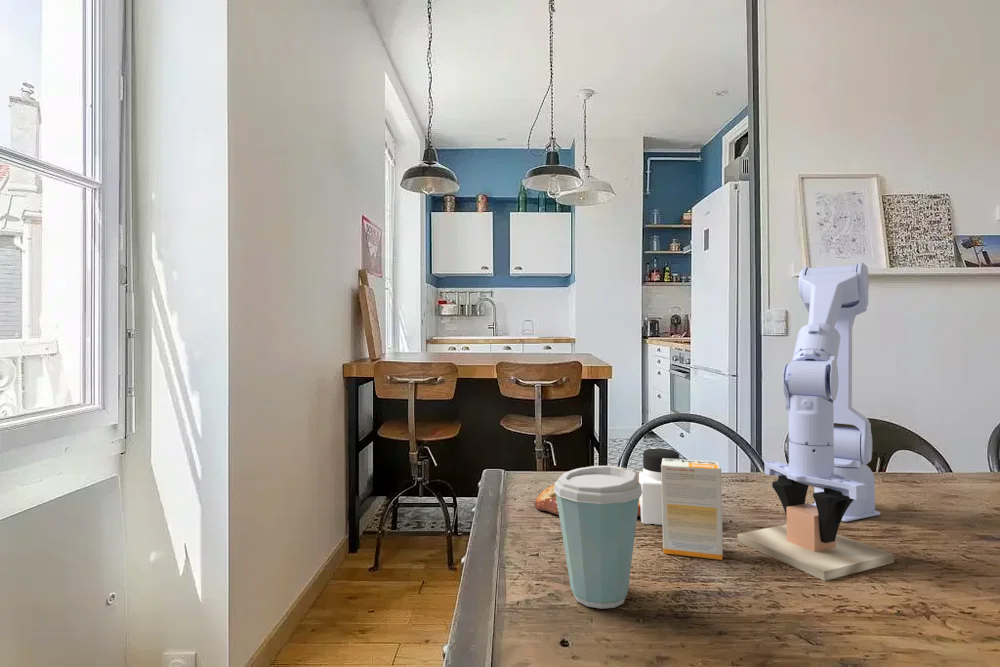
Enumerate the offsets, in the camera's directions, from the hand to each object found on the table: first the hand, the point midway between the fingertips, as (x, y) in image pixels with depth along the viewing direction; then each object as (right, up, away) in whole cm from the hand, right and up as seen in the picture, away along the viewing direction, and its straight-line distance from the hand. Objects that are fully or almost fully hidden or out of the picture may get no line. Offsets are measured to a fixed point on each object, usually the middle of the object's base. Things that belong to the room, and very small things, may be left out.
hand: (811, 535), depth 76 cm
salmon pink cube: (0, -1, 0) cm, 1 cm away
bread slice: (-28, -3, +20) cm, 35 cm away
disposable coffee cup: (-34, -3, -13) cm, 36 cm away
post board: (0, -2, 0) cm, 2 cm away
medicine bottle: (-18, -3, +14) cm, 23 cm away
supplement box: (-17, -3, 0) cm, 18 cm away
